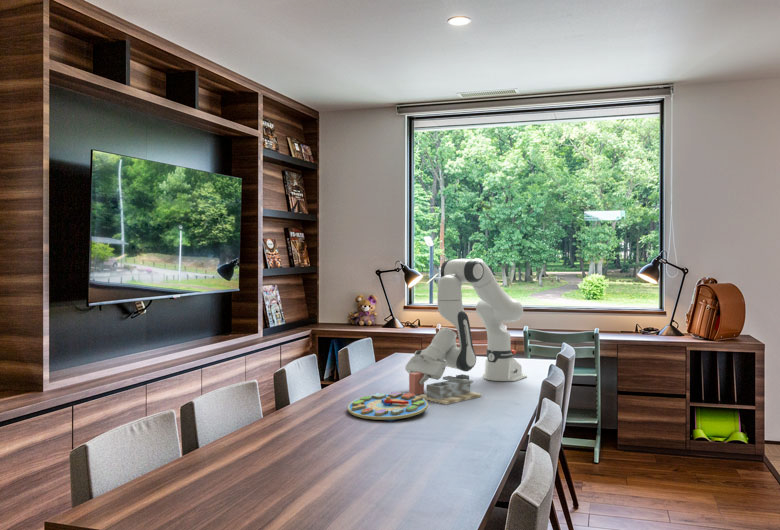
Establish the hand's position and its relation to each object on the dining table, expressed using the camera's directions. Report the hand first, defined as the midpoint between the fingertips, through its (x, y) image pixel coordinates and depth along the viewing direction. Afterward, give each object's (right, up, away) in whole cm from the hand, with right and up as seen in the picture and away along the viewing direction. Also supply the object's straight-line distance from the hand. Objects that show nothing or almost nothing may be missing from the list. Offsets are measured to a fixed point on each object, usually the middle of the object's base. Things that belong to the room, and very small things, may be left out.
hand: (415, 383), depth 272 cm
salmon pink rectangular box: (0, -5, 0) cm, 5 cm away
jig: (+14, -5, -6) cm, 16 cm away
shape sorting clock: (-12, -6, -31) cm, 33 cm away
